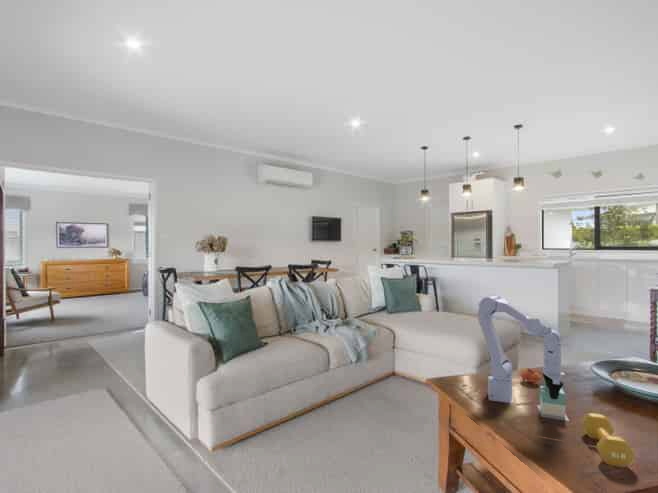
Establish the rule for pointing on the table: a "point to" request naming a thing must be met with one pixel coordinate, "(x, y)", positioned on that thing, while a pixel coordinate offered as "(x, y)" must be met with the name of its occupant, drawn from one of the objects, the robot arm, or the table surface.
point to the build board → (552, 415)
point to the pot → (530, 376)
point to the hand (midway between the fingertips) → (552, 395)
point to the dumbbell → (607, 440)
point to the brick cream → (552, 409)
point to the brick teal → (547, 399)
